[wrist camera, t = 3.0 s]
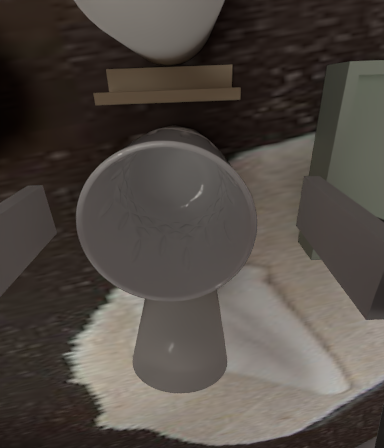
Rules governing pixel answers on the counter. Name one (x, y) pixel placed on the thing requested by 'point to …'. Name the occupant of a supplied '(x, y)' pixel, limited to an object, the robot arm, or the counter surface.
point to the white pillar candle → (156, 25)
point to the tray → (351, 136)
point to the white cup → (167, 217)
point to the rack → (168, 85)
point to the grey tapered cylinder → (181, 344)
